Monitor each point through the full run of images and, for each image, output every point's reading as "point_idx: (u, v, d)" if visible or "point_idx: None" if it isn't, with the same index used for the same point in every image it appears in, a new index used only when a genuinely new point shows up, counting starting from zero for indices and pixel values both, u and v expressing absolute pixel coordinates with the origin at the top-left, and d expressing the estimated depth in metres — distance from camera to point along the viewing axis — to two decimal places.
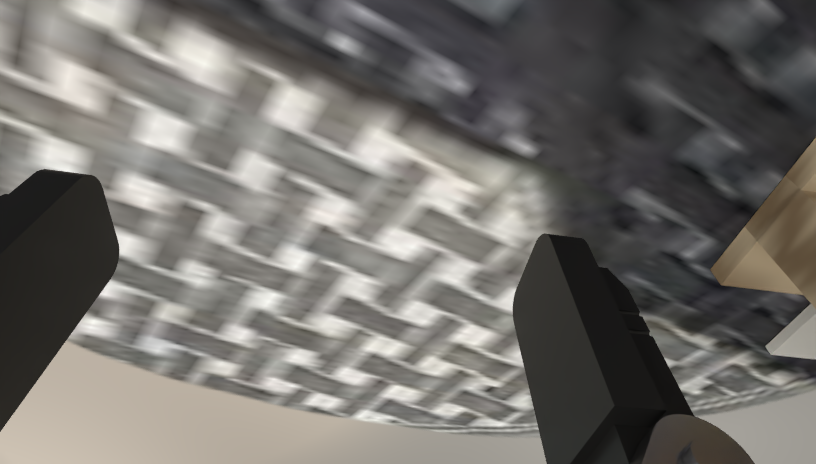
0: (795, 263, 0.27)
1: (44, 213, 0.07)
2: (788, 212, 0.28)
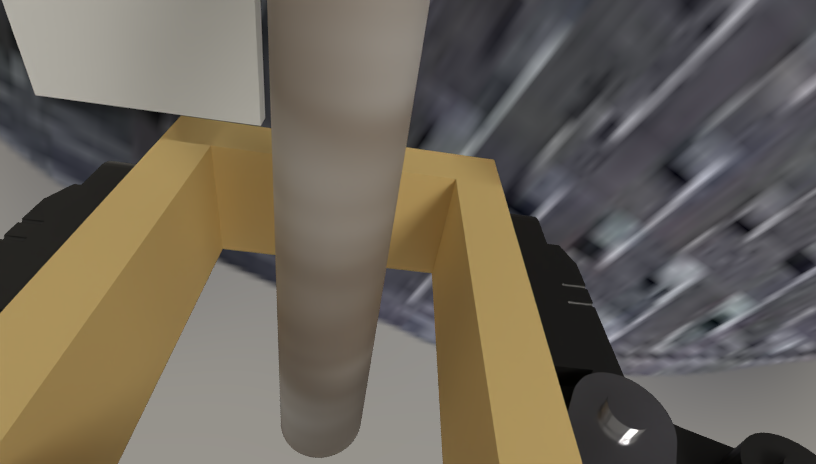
0: None
1: None
2: None
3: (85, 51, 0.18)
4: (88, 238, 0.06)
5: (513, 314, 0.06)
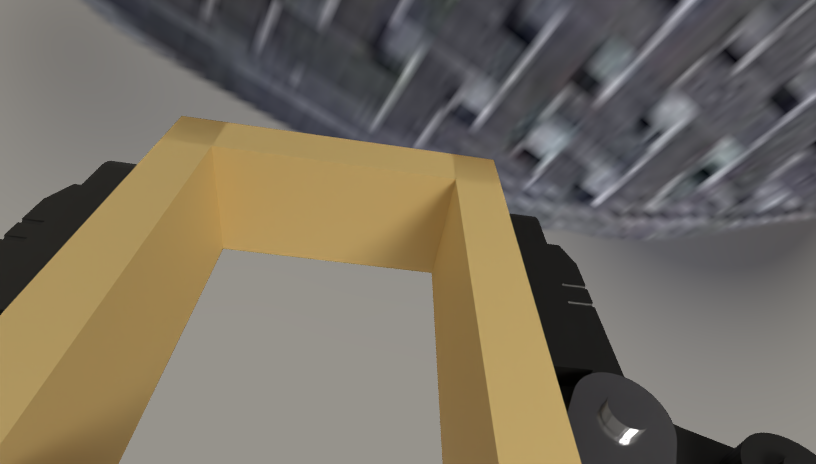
0: None
1: None
2: None
3: None
4: (90, 238, 0.06)
5: (512, 314, 0.06)
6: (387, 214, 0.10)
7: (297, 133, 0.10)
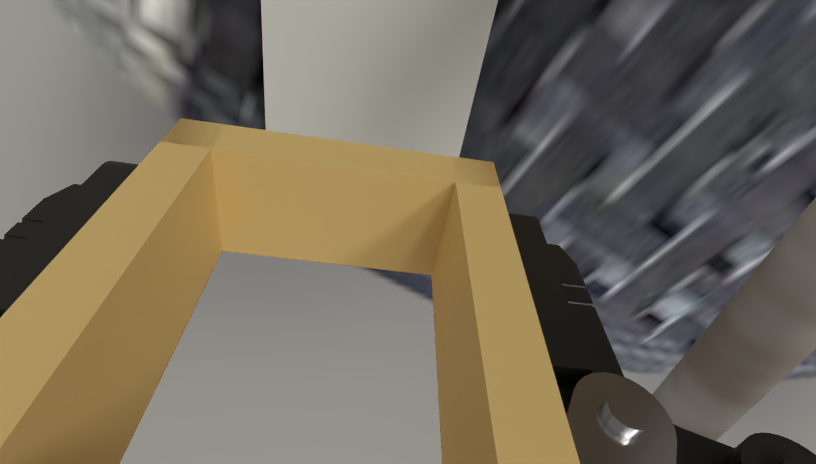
0: None
1: None
2: None
3: (322, 94, 0.20)
4: (88, 242, 0.06)
5: (512, 318, 0.06)
6: (387, 216, 0.10)
7: (296, 135, 0.09)
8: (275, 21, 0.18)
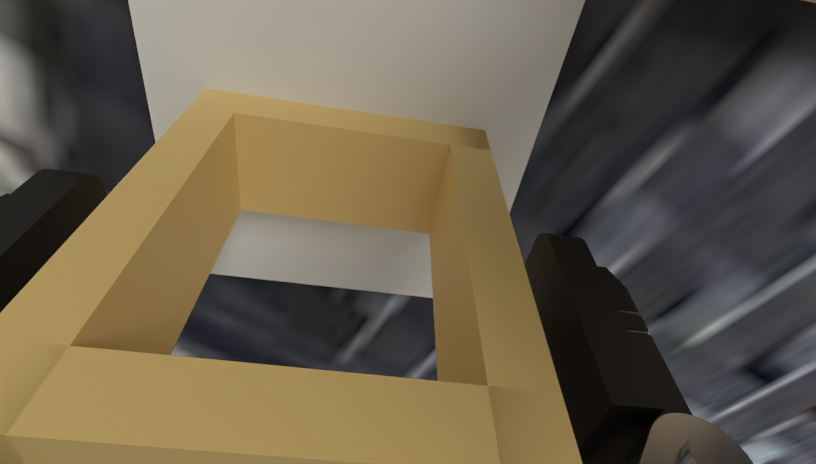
0: None
1: (46, 212, 0.07)
2: None
3: (263, 223, 0.13)
4: (137, 181, 0.07)
5: (497, 248, 0.08)
6: (390, 177, 0.11)
7: (309, 104, 0.11)
8: None
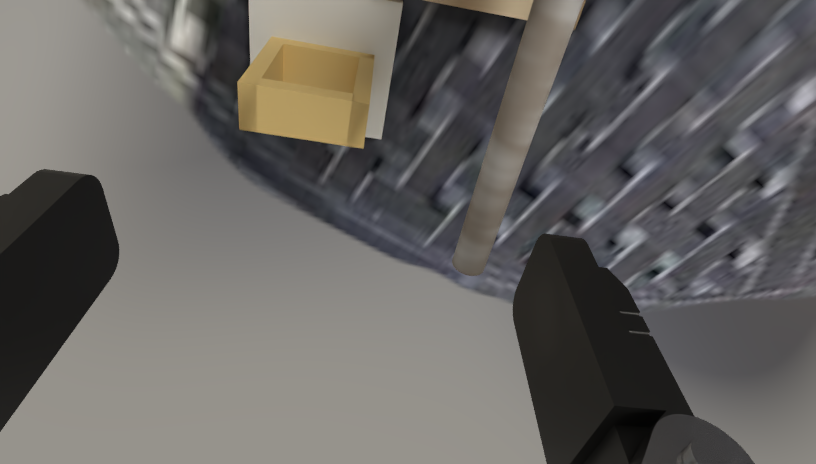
0: None
1: (44, 213, 0.07)
2: None
3: None
4: (261, 56, 0.26)
5: (365, 77, 0.26)
6: (338, 70, 0.29)
7: (309, 43, 0.29)
8: (258, 49, 0.29)
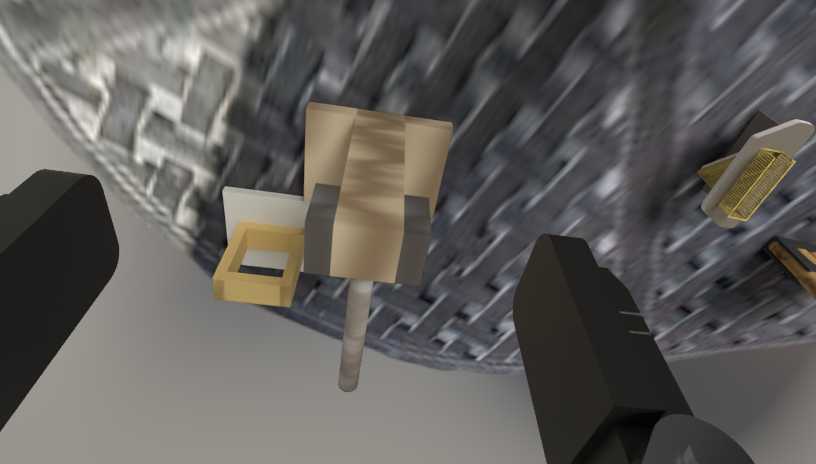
0: (364, 133, 0.36)
1: (44, 213, 0.07)
2: (387, 122, 0.38)
3: (253, 250, 0.47)
4: (230, 246, 0.42)
5: (294, 258, 0.42)
6: (282, 241, 0.45)
7: (263, 224, 0.45)
8: (231, 227, 0.46)
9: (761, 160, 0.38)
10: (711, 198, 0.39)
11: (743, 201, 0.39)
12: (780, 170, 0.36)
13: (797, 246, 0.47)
